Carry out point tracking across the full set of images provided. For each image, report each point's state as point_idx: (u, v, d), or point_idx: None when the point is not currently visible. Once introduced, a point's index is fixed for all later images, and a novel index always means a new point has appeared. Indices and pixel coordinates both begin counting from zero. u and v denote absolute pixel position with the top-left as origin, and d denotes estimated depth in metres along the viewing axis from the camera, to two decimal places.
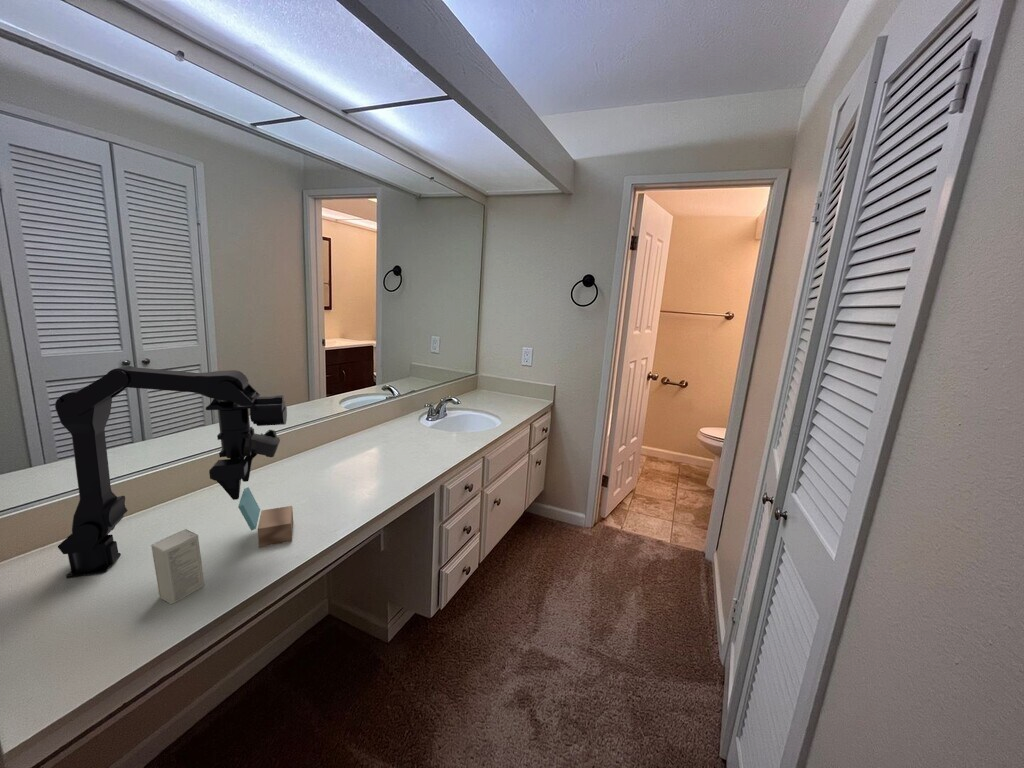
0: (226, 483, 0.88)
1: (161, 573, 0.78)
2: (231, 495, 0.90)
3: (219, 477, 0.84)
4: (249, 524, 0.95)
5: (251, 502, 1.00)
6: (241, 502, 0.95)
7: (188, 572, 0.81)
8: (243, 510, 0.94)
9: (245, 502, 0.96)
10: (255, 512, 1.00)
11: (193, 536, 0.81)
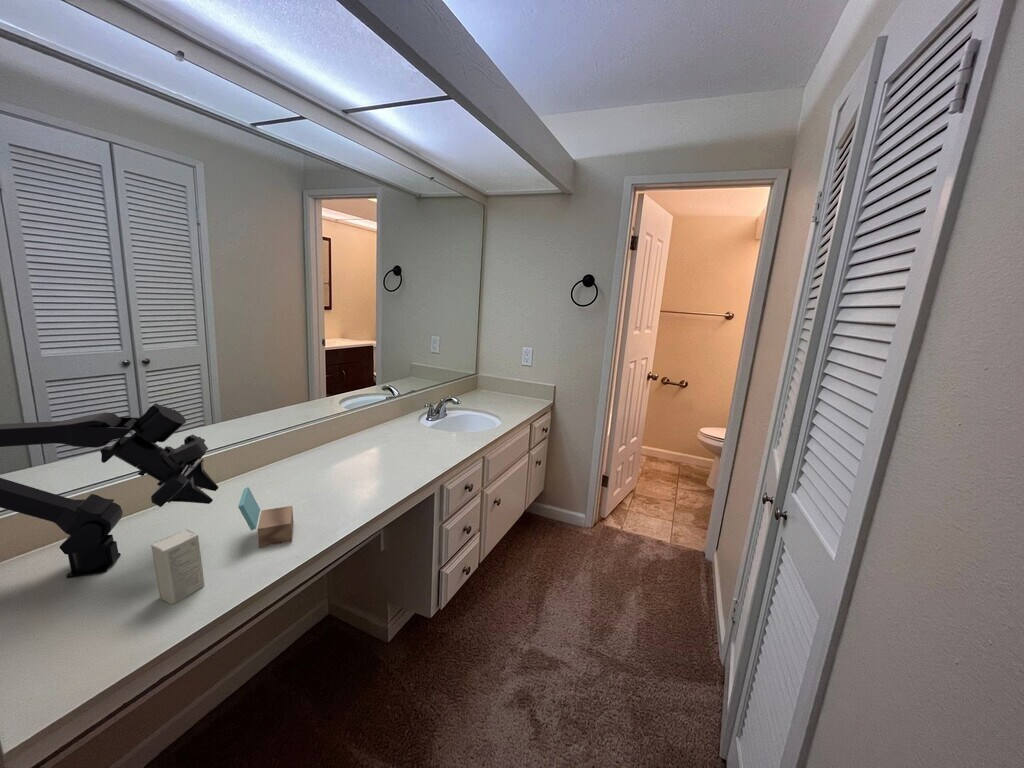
0: (186, 497, 0.89)
1: (161, 573, 0.78)
2: (203, 502, 0.91)
3: (165, 500, 0.83)
4: (249, 524, 0.95)
5: (251, 502, 1.00)
6: (241, 502, 0.95)
7: (188, 572, 0.81)
8: (243, 510, 0.94)
9: (245, 502, 0.96)
10: (255, 512, 1.00)
11: (193, 536, 0.81)
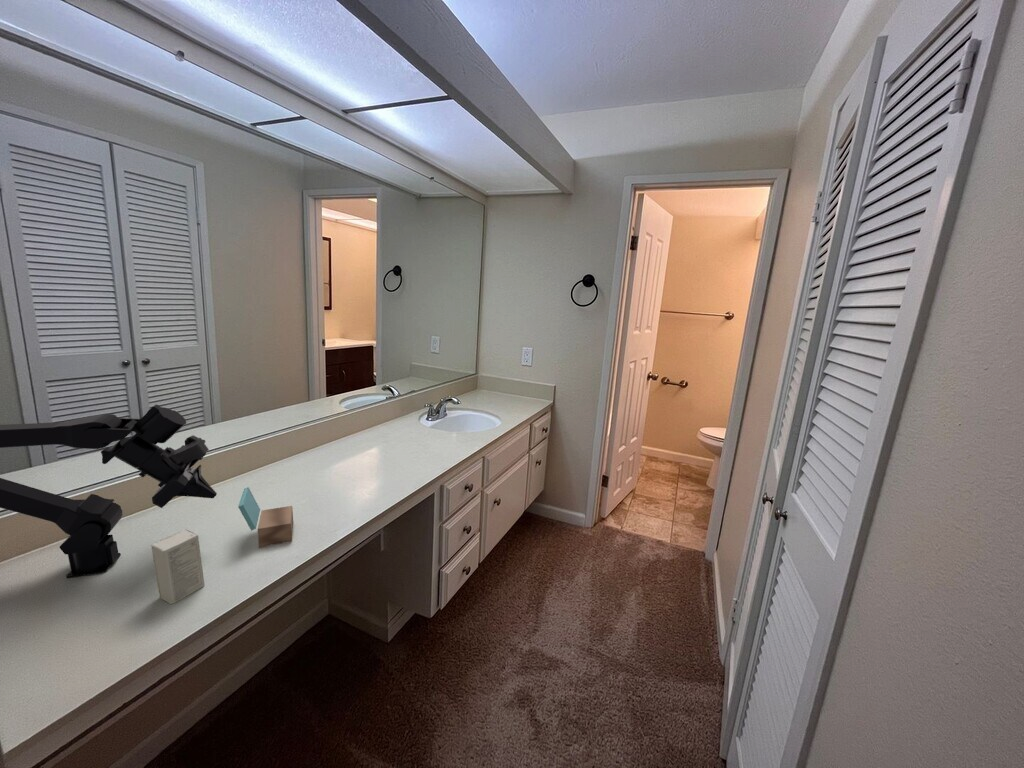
0: (190, 492, 0.91)
1: (161, 573, 0.78)
2: (207, 496, 0.94)
3: (166, 501, 0.83)
4: (249, 524, 0.95)
5: (251, 502, 1.00)
6: (241, 502, 0.95)
7: (188, 572, 0.81)
8: (243, 510, 0.94)
9: (245, 502, 0.96)
10: (255, 512, 1.00)
11: (193, 536, 0.81)
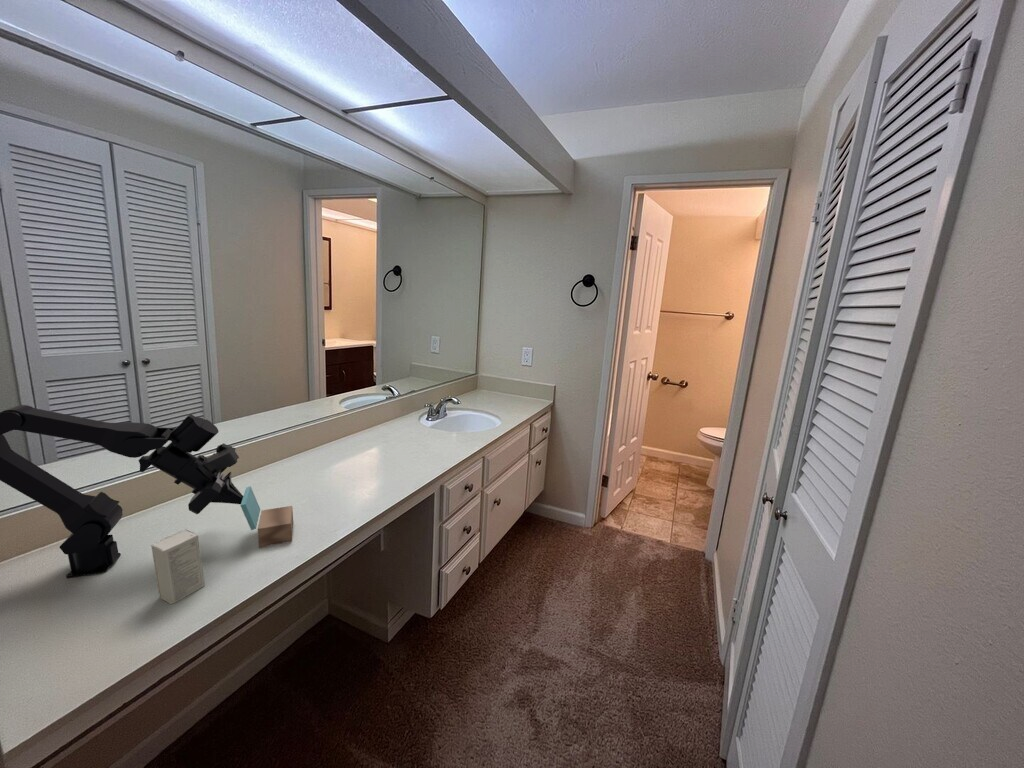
0: (222, 498, 0.95)
1: (161, 573, 0.78)
2: (237, 502, 0.97)
3: (201, 508, 0.86)
4: (250, 524, 0.95)
5: (252, 501, 1.00)
6: (243, 501, 0.95)
7: (188, 572, 0.81)
8: (245, 509, 0.94)
9: (247, 501, 0.96)
10: (256, 512, 1.00)
11: (193, 536, 0.81)
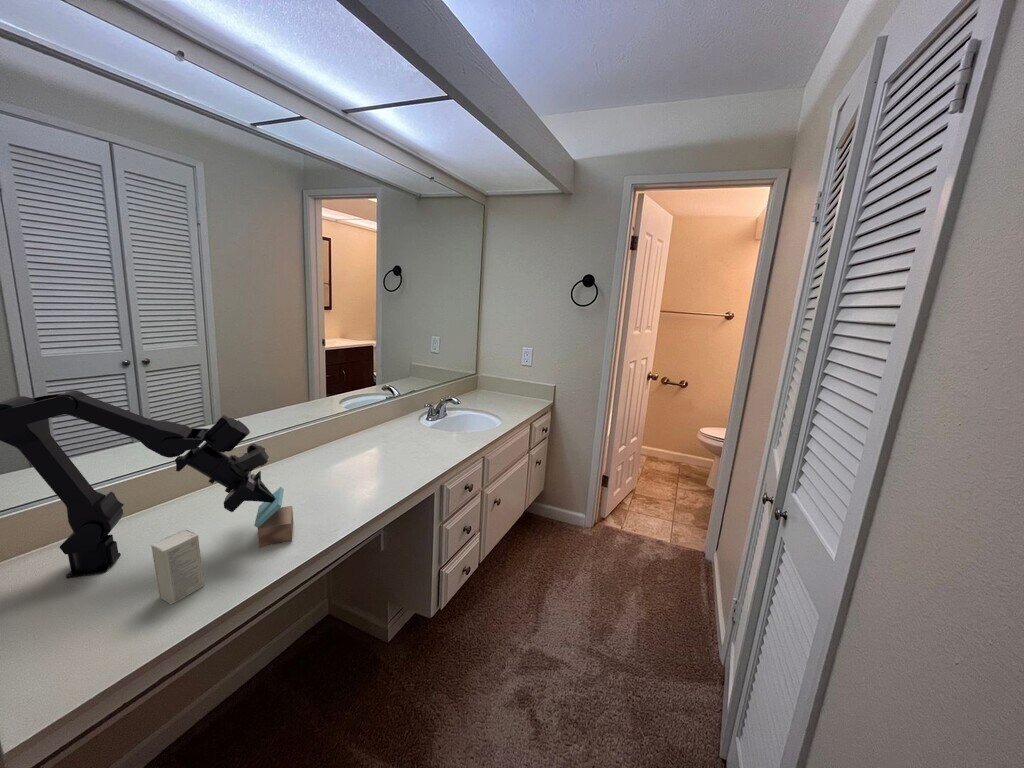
0: (253, 496, 0.97)
1: (161, 573, 0.78)
2: (267, 501, 1.00)
3: (236, 506, 0.89)
4: (261, 521, 0.96)
5: None
6: (280, 501, 0.99)
7: (188, 572, 0.81)
8: (275, 509, 0.97)
9: None
10: None
11: (193, 536, 0.81)
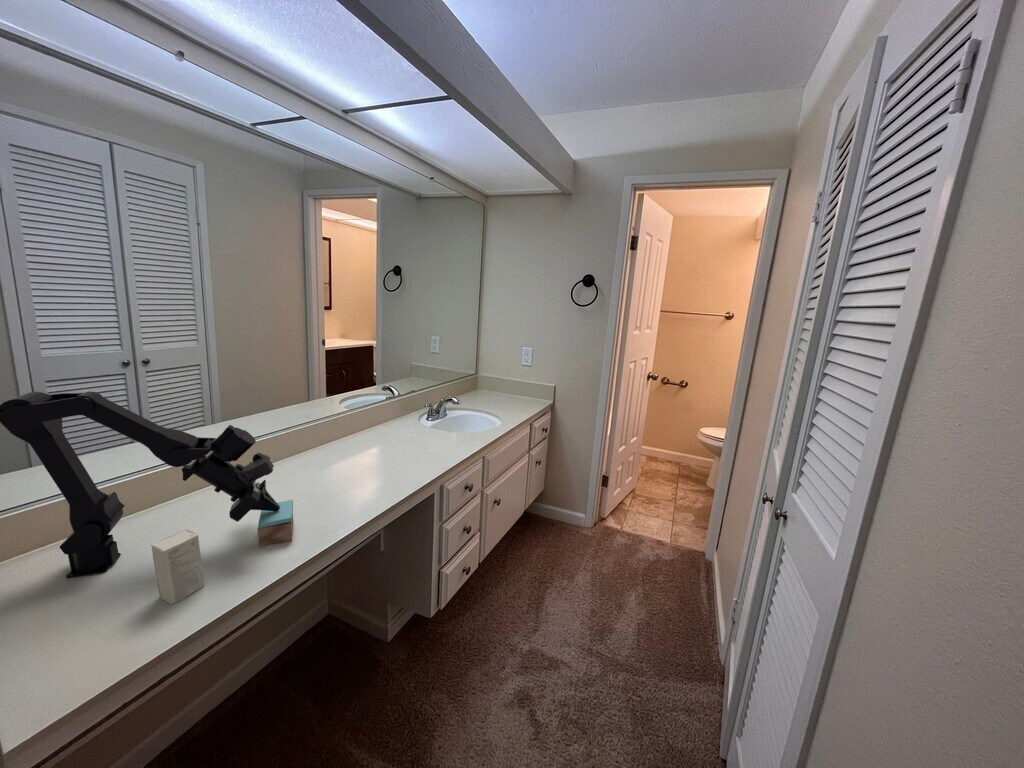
0: (258, 505, 0.98)
1: (161, 573, 0.78)
2: (272, 509, 1.01)
3: (241, 516, 0.90)
4: (266, 523, 0.97)
5: None
6: (291, 515, 1.01)
7: (188, 572, 0.81)
8: (285, 520, 0.99)
9: None
10: None
11: (193, 536, 0.81)
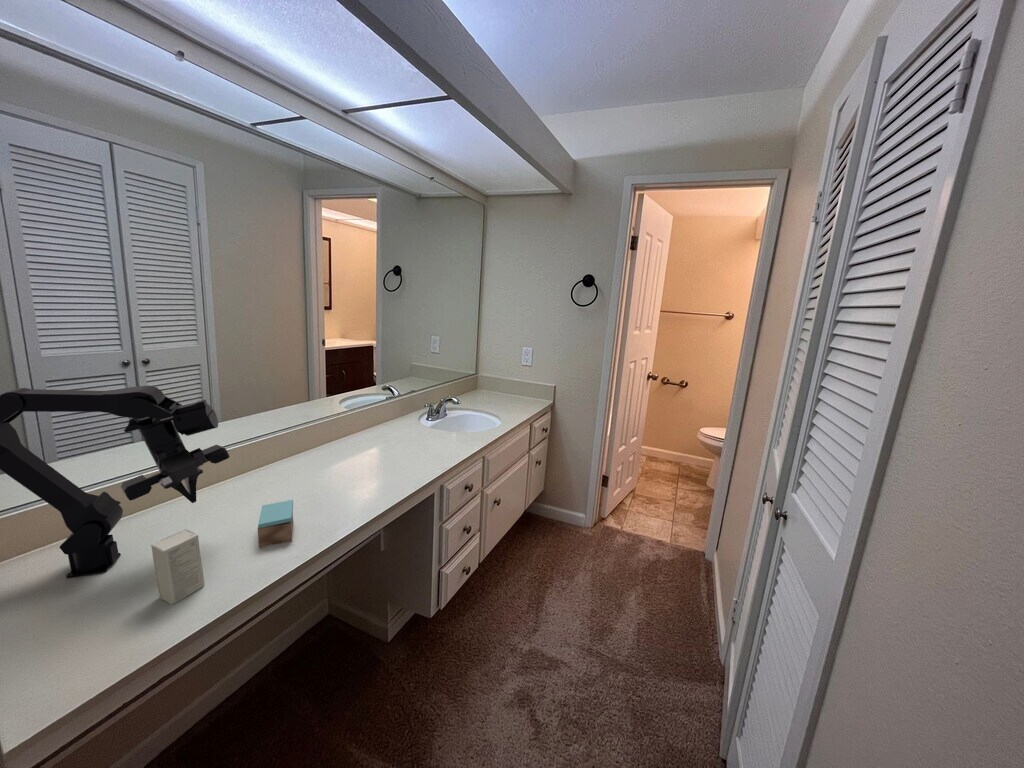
0: None
1: (161, 573, 0.78)
2: None
3: (125, 494, 0.85)
4: (266, 523, 0.97)
5: None
6: (291, 515, 1.01)
7: (188, 572, 0.81)
8: (285, 521, 0.99)
9: None
10: None
11: (193, 536, 0.81)
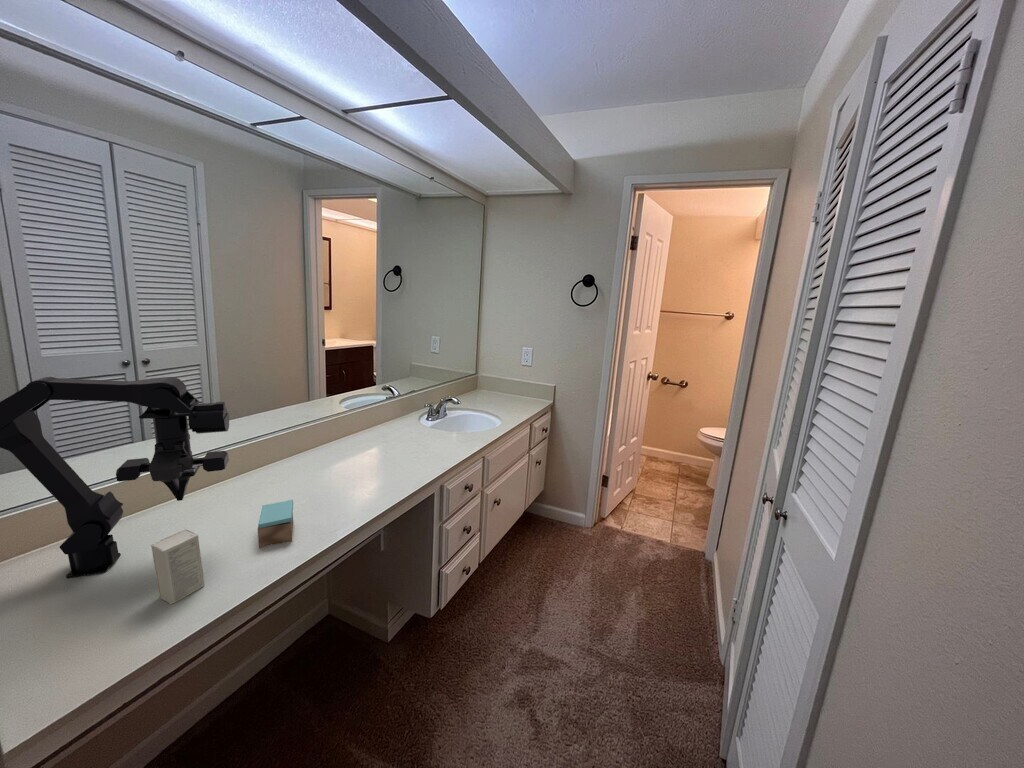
0: None
1: (161, 573, 0.78)
2: None
3: None
4: (266, 523, 0.97)
5: None
6: (291, 515, 1.01)
7: (188, 572, 0.81)
8: (285, 521, 0.99)
9: None
10: None
11: (193, 536, 0.81)
